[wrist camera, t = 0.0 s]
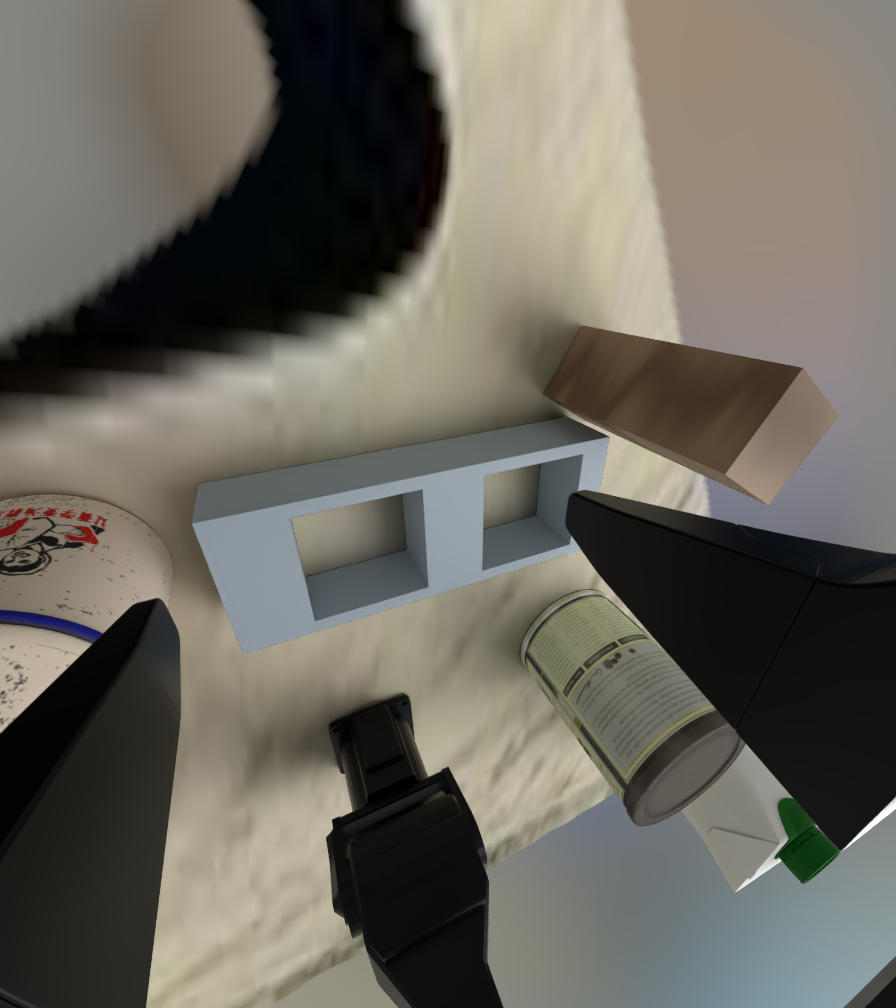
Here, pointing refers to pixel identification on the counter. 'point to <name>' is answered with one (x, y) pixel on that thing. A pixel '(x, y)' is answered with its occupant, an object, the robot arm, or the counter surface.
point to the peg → (696, 406)
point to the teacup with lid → (67, 585)
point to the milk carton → (757, 825)
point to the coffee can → (628, 706)
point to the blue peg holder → (427, 515)
